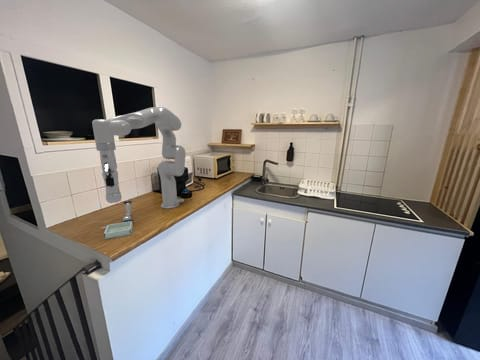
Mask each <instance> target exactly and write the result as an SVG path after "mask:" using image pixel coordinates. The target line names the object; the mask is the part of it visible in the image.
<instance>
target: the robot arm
mask: <svg viewBox="0 0 480 360" xmlns="http://www.w3.org/2000/svg"><path fill="white" fill-rule="evenodd" d="M91 123H92V129H93V130H92V131H93V136H94V142H95V147H96V148H95V149H96V151H97V152H99V158H100V165H101V170H102V172H105V180H106V186H114V185H115V184H114V178H113V176H112V171H115V170H117V169H118V165H117V158H116V154H115V151H116V150H117V148H116V143H115V136H116V137H117V136H121V137H123V136H127V135H129V134H130V133H131V131H132V130H136V129H142V128H145V127H148V126H150V125H153V124H155V126H156V128H157V129H158V130H159V132H160V134H161V136H162V144H161V145H162V146H161V148H162V149H161V156H162V158H163V159H166V160H164V161H160V162H159V164H158V165H157V171H158V174H159V177H160V184H161V185H160V186H161V196H162V203H161V204H160V207H161V208H162V209H166V210H167V209H174V208H178V207H179V206H180V203H184V202H185V200H184V199H183V198H178V196H177V195H178V194H177V193H178V192H177V181H176V178H175V177H181V176H183V174H184V173H185V167H186V150H185V148H184V147H183V146H182V145H177V137H176V134H175V133H174V132H175V131H176V132H177V131H179V130H181V129H182V121H181V119H180V118H179V117H178V116H177V115H175V113H173V112H172V111H170V110H169V109H168V108H166V107H164V106H158V107H157V106H155V107H152V106H151V107H148V108H145V109H142V110H138V111H136V112H135V111H133V112H131V113H127V114H123V115H117V116H114V117H111V118H108V119H102V118H101V119H99V118H97V119H94V120H92V122H91ZM169 160H172V161H169ZM173 160H174V161H173ZM104 169H105V170H104ZM109 170H111V171H109ZM110 173H111V174H110ZM106 186H105V187H106Z"/></svg>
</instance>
